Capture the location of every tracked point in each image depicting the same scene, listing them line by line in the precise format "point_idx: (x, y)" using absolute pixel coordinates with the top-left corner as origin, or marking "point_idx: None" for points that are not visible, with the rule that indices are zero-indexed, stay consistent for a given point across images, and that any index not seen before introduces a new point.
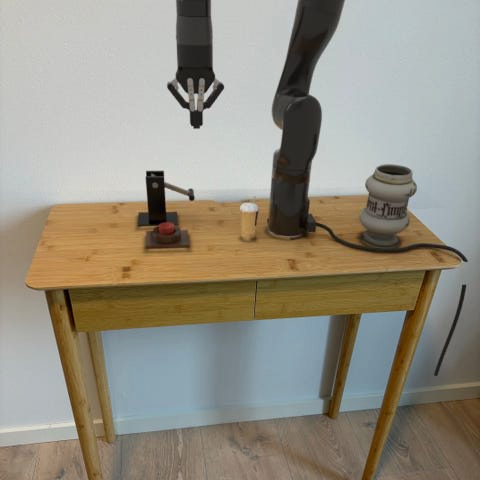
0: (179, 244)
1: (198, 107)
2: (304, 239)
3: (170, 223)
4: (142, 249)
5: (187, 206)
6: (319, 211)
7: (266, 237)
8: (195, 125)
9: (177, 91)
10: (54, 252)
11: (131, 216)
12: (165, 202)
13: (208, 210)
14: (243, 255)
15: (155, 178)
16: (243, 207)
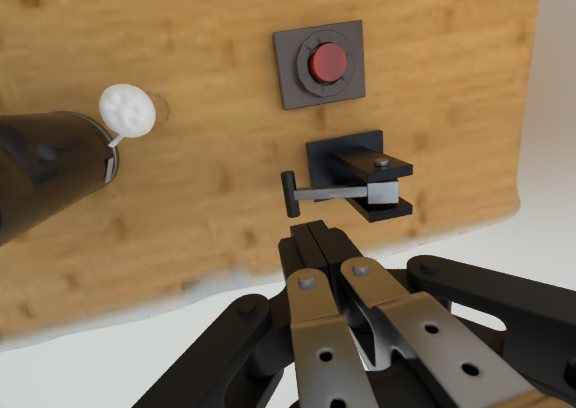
0: (293, 31)
1: (321, 283)
2: None
3: (322, 74)
4: (364, 38)
5: None
6: (18, 265)
7: None
8: (314, 226)
9: (571, 354)
10: (516, 13)
11: None
12: None
13: (256, 232)
14: (151, 21)
15: (387, 168)
16: (140, 96)
